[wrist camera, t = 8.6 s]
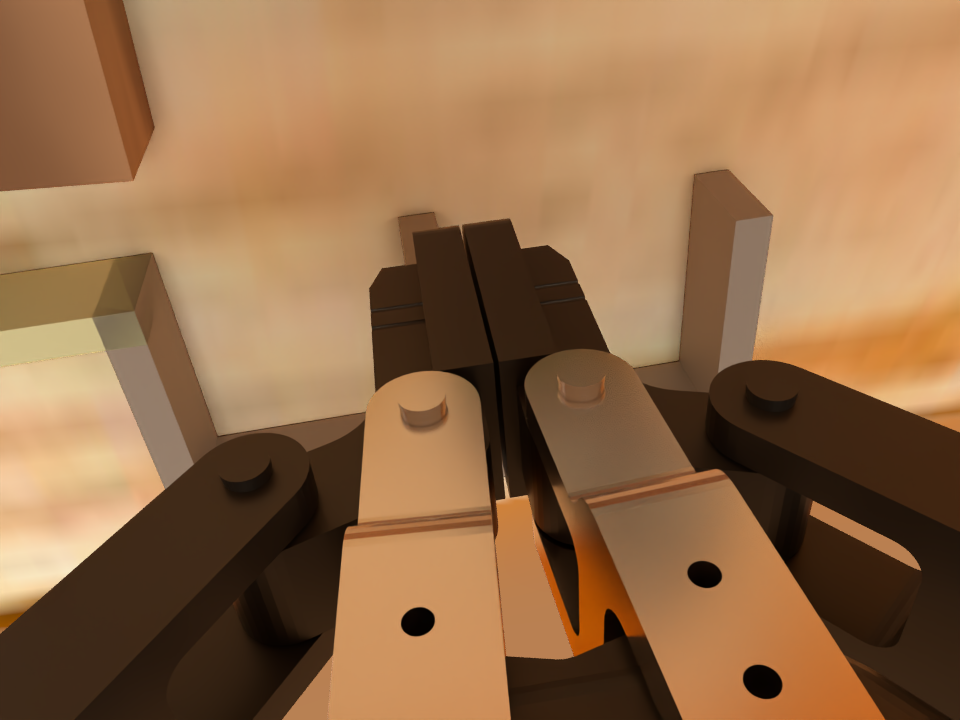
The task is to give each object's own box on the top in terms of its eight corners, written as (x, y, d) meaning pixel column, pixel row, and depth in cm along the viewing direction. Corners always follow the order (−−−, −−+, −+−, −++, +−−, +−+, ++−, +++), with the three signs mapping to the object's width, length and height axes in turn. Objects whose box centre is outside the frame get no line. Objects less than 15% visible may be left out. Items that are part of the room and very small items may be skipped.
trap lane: (846, -255, 22) (924, -255, 19) (752, 372, 34) (791, 427, 32) (-290, -140, 20) (-389, -120, 17) (51, 488, 32) (26, 559, 29)
